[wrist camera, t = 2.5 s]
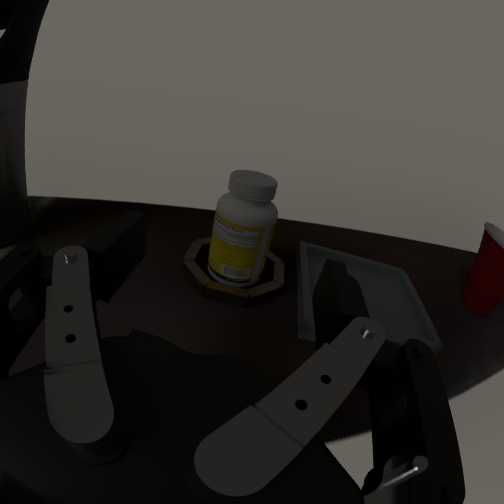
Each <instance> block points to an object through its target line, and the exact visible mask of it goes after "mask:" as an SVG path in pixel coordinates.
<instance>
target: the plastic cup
mask: <svg viewBox="0 0 504 504" xmlns="http://www.w3.org/2000/svg"><path fill="white" fill-rule="evenodd" d="M484 226H485V230H484V234H483V238H482V241H481V245H480V248H479V251H478V253H477V256H476V259H475V261H474V264H473V266H472V269H471V271H470V274H469V278H468V280H467V282H466V285H465V287H464V289H463V293H462V295H461V297H462V300H463V302H464V304H465V305H466V306H467V307H468V308H469V309H470V310H471V311H472V312H473V313H475V314H476V315H478V316H481V317H483V316H485V315H486V314H488V313H489V312H490V311H491V310H492V309H493V307H494V306H495V305H496V304H497V303H498V302H500V301H501V299H502V298H503V297H504V232H503V231H502V230H501V229H499V228H498V227H496V226H495V225H493V224H491V223H489V222H486V223H485V225H484Z"/></svg>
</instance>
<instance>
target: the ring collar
mask: <svg viewBox="0 0 504 504" xmlns="http://www.w3.org/2000/svg"><path fill="white" fill-rule="evenodd" d="M211 238H212V237H208V238H203V239H198V240H196V241H193V243H192V245H191V246H190V248H189V250H188V251H187V253H186V255H185V256H184V258H183V262H182V272H183V274H184V275H185V276H186V277H187V279H188V280H189V281H190V282H191V284H192V285H193V286H194V288H195V289H196V290H197V291H198V293H199V294H200V295H204V294H205V295H204V298H208V299H212V300H216V301H220V302H223V303H227V304H231V305H235V306H239V307H243V308H245V306H246V305H247V306H248V307H252V306H255V305H257V304H260V303H262V302H265V301H268V300H270V299H273V298H275V297H278V296H279V294H280V293H281V291H282V288H283V285H284V263H283V261H282V260H280V259H279V258H278V257H277V256H276V255H274V254H273V253H272V252H271V251H269V250H268V254H267V257H266V261H265V266H266V267H267V268H268V269H269V270H270V271H271V272H272V276H271V282H268V283H265V284H262V285H259V286H256V287H253V288H250V289H247V290H246V289H242V288H238V287H234V286H230V285H227V284H223V283H219V282H215V281H211V280H210V279H209V278H208V276H207V275H206V274H205V273H204V272H203V271H202V270H201V268H200V267H199V266H198V265H197V264H196V263H197V261H198V259H199V257H200V255H201V254H204V253H208V252H209V251H210V245H211Z"/></svg>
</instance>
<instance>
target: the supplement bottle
mask: <svg viewBox="0 0 504 504" xmlns="http://www.w3.org/2000/svg"><path fill="white" fill-rule="evenodd" d="M276 188H277V181H276V180H275V179H274V178H272V177H271V176H268V175H266V174H262V173H260V172H255V171H249V170H236V171H233V172H232V173H231V176H230V181H229V187H228V189H229V191H230V193H227V194H225V195H223V196H222V197H221V198H220V199H219V201H218V203H217V208H216V213H215V219H214V226H213V232H212V238H211V245H210V251H209V259H208V270H209V273H210V274H211V276H212V277H213V278H214V279H216V280H217V281H218V282H220V283H223V284H227V285H230V286H234V287H239V288H241V287H248V286H251V285H253V284H255V283H256V282H258V281H259V279H260V277H261V275H262V272H263V268H264V265H265V261H266V257H267V254H268V250H269V247H270V243H271V240H272V236H273V232H274V229H275V225H276V221H277V217H278V211H277V208H276V207H275V205H274V204H273V203H272V202H271V200H273V199H274V196H275V193H276Z"/></svg>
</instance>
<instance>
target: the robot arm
mask: <svg viewBox="0 0 504 504" xmlns="http://www.w3.org/2000/svg"><path fill="white" fill-rule="evenodd" d="M48 2H49V0H0V30H3V29H6V30H5V32H4V34H3V35H2V36H1V38H0V247H2V246H5V245H7V244H9V243H11V242H13V241H15V240H16V239H18V238H19V237H20V236H22V235H23V234H24V233H25V232H26V231H27V229H28V228H29V226H30V222H31V221H30V214H29V206H28V198H27V186H26V173H25V145H24V144H25V109H26V96H27V87H28V79H29V71H30V65H31V61H32V57H33V52H34V48H35V43H36V39H37V35H38V31H39V28H40V25H41V22H42V18H43V16H44V13H45V10H46V7H47V5H48ZM146 246H147V216H146V215H145V214H142V213H137V212H133V211H130V212H128V213H127V214H126V215H125V216H123V217H122V218H121V219H117V220H115V221H112V222H110V223H108V224H107V225H105V226H104V227H103V228H102V230H101V229H100V230H99V231H98V232H97V234H94V235H93V236H92V237H91V238H90V239H89V240H87V241H86V242H85V243H84V244H83V245H82V246H81V247H80V246H68V247H64V248H62V249H60V250H59V251H57V252H56V254H55V255H54V256H42V255H41V253H40V248H39V246H38V245H37V244H35V243H24V244H21V245H19V246H17V247H15V248H14V249H13V250H12V251H11V252H10V253H8V254H7V255H6V256H5V257H4V258H3V259H2V260H1V261H0V504H463V501H464V498H465V483H464V475H463V469H462V462H461V457H460V451H459V446H458V440H457V436H456V431H455V427H454V422H453V418H452V414H451V410H450V406H449V403H448V399H447V396H446V392H445V389H444V385H443V382H442V379H441V376H440V373H439V369H438V366H437V363H436V360H435V358H434V355H433V352H432V350H431V349H430V348H429V346H428V345H427V344H425V343H424V342H423V341H421V340H418V339H414V338H411V339H408V340H407V341H406V342H405V343H404V345H403V346H401V345H398V344H396V343H393V342H391V341H389V340H387V339H386V334H385V331H384V330H383V328H382V327H381V326H380V325H379V324H378V323H377V322H376V321H374V320H372V319H370V316H369V312H368V309H367V306H366V303H365V300H364V297H363V294H362V291H361V288H360V285H359V283H358V282H357V280H356V279H355V278H354V277H353V276H351V275H348V272H347V269H346V265H345V263H344V262H341V261H337V260H333V259H329V258H328V259H327V260H326V261H325V264H324V266H323V269H322V271H321V273H320V276H319V278H318V281H317V283H316V286H315V288H314V292H313V298H312V302H313V313H314V325H315V338H316V352H315V353H314V354H313V355H312V356H311V357H310V358H309V359H308V360H307V361H306V362H305V363H304V364H303V365H301V366H300V367H299V368H298V369H297V370H296V371H295V372H294V373H292V374H291V375H290V376H289V377H288V378H287V379H286V380H284V381H283V382H282V383H281V384H280V385H277V384H276V383H275V382H274V381H272V380H271V379H269V378H268V377H266V376H264V375H262V374H260V373H258V372H257V366H258V362H253V361H248V360H244V359H239V358H235V357H230V356H226V355H204V354H192V353H189V352H187V351H185V350H183V349H181V348H179V347H177V346H175V345H174V344H172V343H170V342H168V341H166V340H164V339H163V338H160V337H157V336H154V335H151V334H148V333H145V332H142V331H139V330H136V329H132V331H131V333H130V334H129V336H128V337H120V336H117V337H108V338H103V339H102V338H101V333H100V328H99V322H98V317H97V310H96V305H95V303H96V302H97V300H101V301H104V302H107V303H108V302H109V301H110V300H111V298H112V297H113V296H114V294H115V293H116V292H117V290H118V289H119V288H120V286H121V285H122V284H123V283H124V281H125V280H126V279H127V277H128V276H129V275H130V274H131V272H132V271H133V270H134V269H135V267H136V266H137V265H138V264H139V262H140V261H141V260H142V259H143V257H144V255H145V252H146ZM19 287H20V290H21V293H22V296H23V297H22V298H21V299H20V300H19V301H18V302H17V304H16V305H15V306H14V307H13V308H12V309H11V311H9V307H8V303H9V299H10V297H11V296H12V294H13V293H14V292H15V291H16V290H17V289H18V288H19ZM44 318H45V343H46V362H44V363H41V364H39V365H36V366H34V367H31V368H29V369H26V370H24V371H21V372H19V373H16V374H14V375H11V376H9V369H10V367H11V366H12V364H13V363H14V361H15V359H16V358H17V356H18V355H19V353H20V352H21V350H22V349H23V347H24V346H25V344H26V343H27V341H28V340H29V338H30V337H31V336H32V334H33V333H34V331H35V330H36V329H37V327H38V326H39V324H40V323H41V322H42V320H43V319H44ZM8 376H9V377H8ZM354 387H355V388H358V389H360V390H363V391H365V392H368V394H369V404H370V415H371V427H372V443H373V466H374V467H373V469H371V470H370V471H369V472H368V474H367V475H366V477H365V480H364V485H363V487H362V490H360V488H359V486H358V485H357V484H356V482H355V481H354V480H353V479H352V477H351V476H350V475H349V474H348V473H347V471H346V470H345V469H344V468H343V467H342V465H341V464H340V463H339V462H338V461H337V459H336V458H335V457H334V456H333V454H332V453H331V452H330V451H329V449H328V448H327V447H326V445H325V444H324V443H323V442H322V440H321V439H320V438H319V436H318V435H317V434H316V433H317V432H318V431H319V430H320V429H321V427H322V426H323V425H324V424H325V423H326V422H327V420H328V419H329V418H330V417H331V416H332V415H333V413H334V412H335V411H336V410H337V408H338V407H339V406H340V405H341V403H342V402H343V401H344V400H345V398H346V397H347V396H348V394H349V393H350V392H351V390H352V389H353V388H354ZM404 394H405V395H406V400H407V407H406V408H405V402H404V397H403V395H404Z"/></svg>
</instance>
